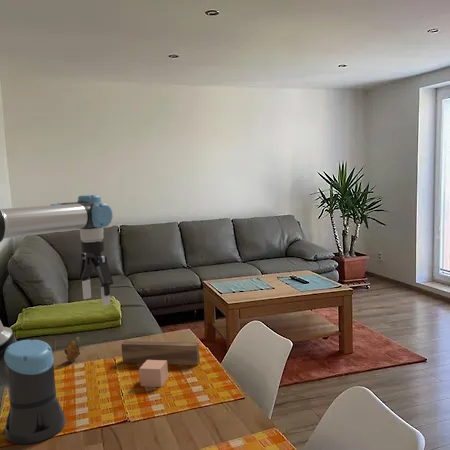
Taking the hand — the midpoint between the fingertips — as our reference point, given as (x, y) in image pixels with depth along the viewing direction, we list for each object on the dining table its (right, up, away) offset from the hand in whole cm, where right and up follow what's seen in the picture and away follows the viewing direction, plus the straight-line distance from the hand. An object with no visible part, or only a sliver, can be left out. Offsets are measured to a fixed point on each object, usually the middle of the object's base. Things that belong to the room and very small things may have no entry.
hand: (96, 301), depth 162 cm
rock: (-12, -24, +13) cm, 30 cm away
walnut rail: (+21, -23, +8) cm, 32 cm away
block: (+21, -25, -8) cm, 34 cm away
